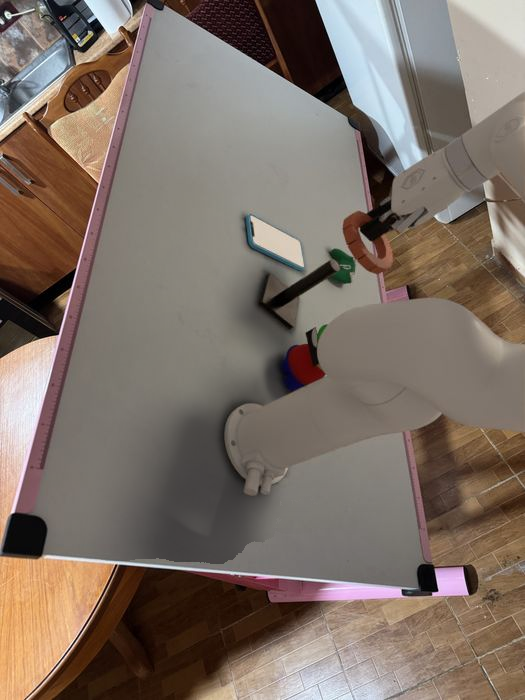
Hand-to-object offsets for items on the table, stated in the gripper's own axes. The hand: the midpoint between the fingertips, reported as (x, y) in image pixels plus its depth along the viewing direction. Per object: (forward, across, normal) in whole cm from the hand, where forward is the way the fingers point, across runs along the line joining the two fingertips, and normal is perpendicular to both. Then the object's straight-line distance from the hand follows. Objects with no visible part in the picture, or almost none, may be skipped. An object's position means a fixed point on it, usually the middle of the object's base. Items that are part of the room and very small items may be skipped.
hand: (366, 229), depth 93 cm
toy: (+20, +19, +5) cm, 28 cm away
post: (+20, +5, 0) cm, 21 cm away
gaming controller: (+21, -16, +13) cm, 29 cm away
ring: (0, +4, 0) cm, 4 cm away
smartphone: (+21, -8, -4) cm, 23 cm away
